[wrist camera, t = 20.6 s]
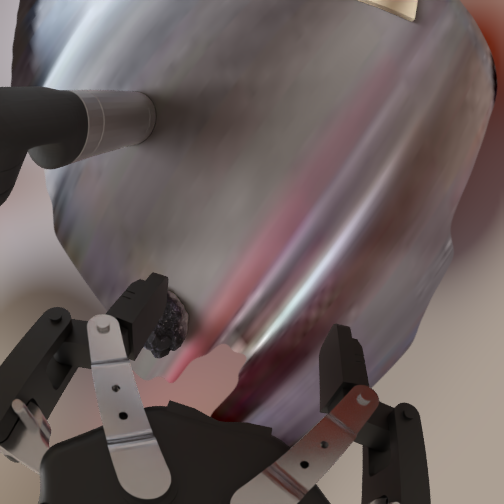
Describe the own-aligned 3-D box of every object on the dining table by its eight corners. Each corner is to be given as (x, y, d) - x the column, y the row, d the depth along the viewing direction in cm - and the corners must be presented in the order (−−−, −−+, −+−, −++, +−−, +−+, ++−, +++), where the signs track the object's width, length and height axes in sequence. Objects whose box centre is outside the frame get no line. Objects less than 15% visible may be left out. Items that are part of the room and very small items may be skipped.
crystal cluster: (134, 273, 56) (106, 302, 48) (195, 295, 55) (172, 331, 46) (138, 318, 63) (115, 347, 55) (190, 340, 62) (172, 373, 53)
